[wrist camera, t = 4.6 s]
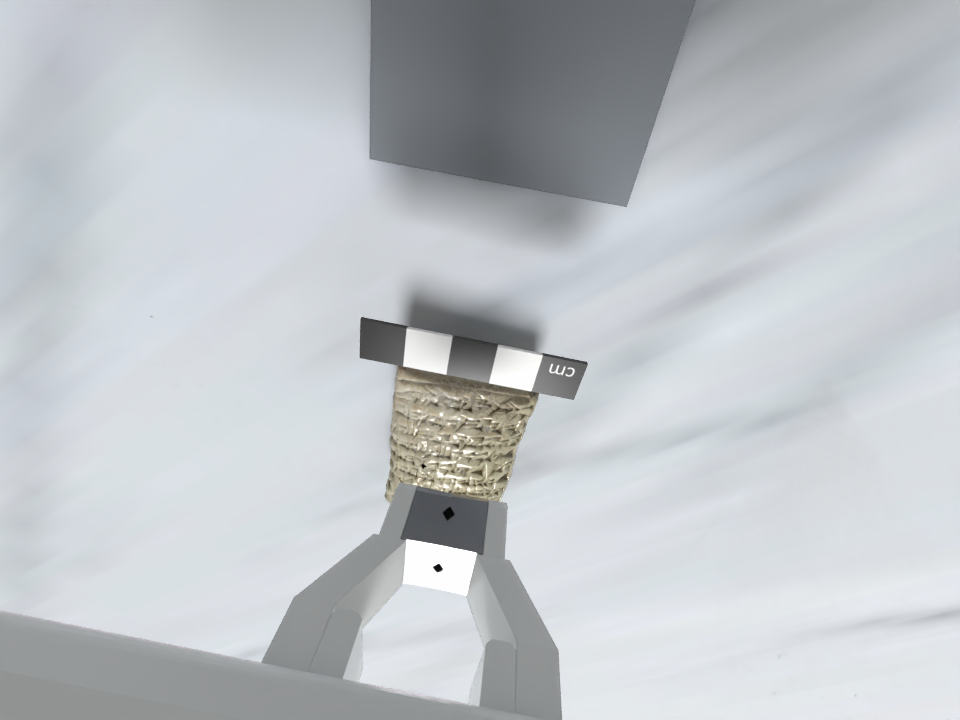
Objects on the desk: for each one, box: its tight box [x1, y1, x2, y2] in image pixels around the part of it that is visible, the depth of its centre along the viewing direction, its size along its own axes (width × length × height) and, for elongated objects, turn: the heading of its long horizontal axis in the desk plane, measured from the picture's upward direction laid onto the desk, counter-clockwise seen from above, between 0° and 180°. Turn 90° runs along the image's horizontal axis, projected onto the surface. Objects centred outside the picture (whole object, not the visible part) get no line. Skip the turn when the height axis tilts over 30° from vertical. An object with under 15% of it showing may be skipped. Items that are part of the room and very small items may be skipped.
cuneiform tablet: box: [360, 317, 588, 504], centre depth 17 cm, size 7×4×12 cm
